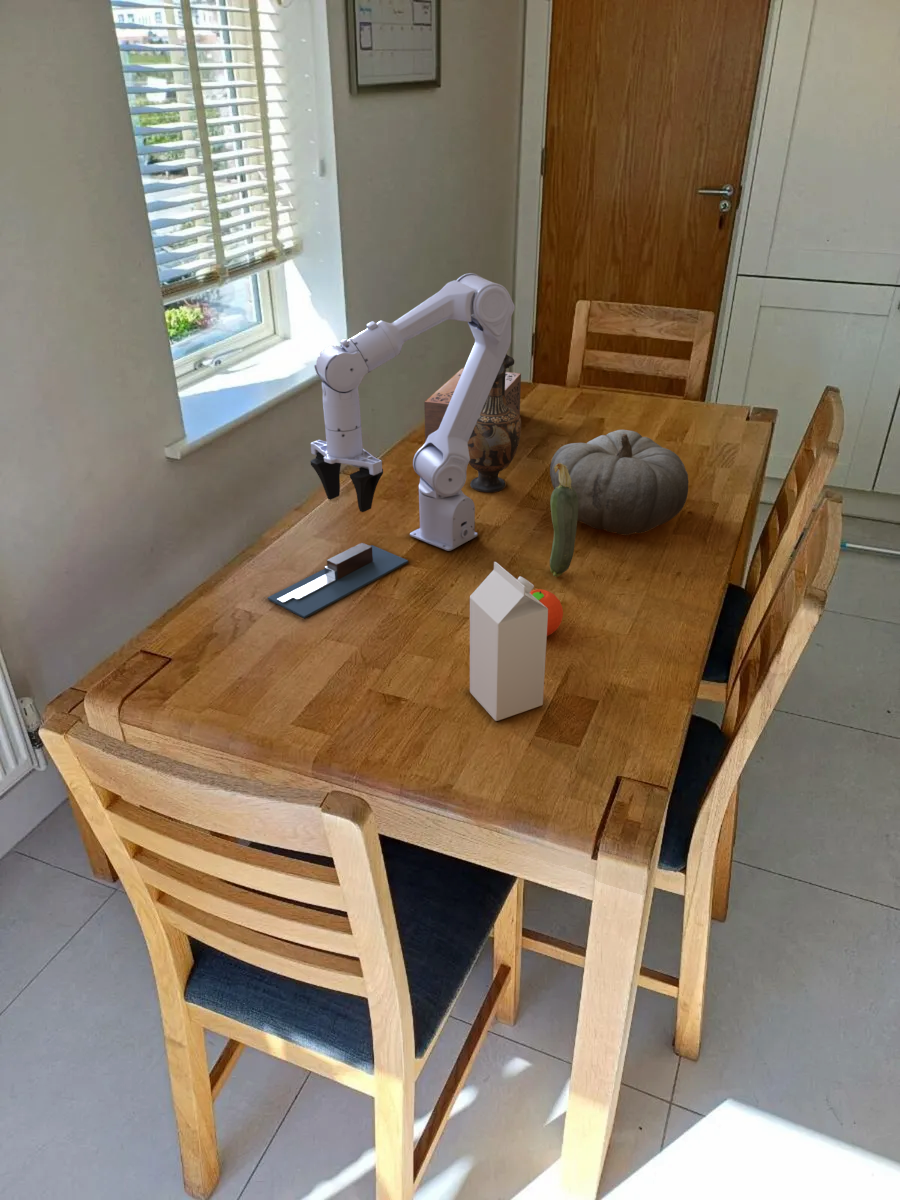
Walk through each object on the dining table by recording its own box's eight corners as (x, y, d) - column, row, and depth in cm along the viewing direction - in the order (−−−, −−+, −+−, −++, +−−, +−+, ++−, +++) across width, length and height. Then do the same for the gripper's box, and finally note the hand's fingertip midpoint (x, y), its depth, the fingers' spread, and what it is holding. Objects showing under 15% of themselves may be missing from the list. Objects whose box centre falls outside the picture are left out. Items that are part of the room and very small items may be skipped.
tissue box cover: (488, 453, 189) (488, 408, 184) (425, 445, 193) (424, 401, 188) (519, 414, 210) (521, 373, 204) (462, 408, 214) (462, 367, 209)
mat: (408, 562, 148) (408, 560, 147) (304, 618, 133) (304, 616, 133) (371, 546, 153) (371, 544, 152) (267, 599, 138) (267, 597, 138)
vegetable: (575, 573, 144) (584, 459, 133) (570, 586, 140) (578, 470, 130) (549, 569, 145) (556, 456, 135) (543, 582, 142) (549, 466, 131)
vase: (451, 492, 172) (450, 337, 156) (474, 468, 182) (475, 321, 166) (508, 501, 168) (512, 343, 152) (528, 477, 178) (534, 326, 162)
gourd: (519, 518, 155) (539, 423, 148) (568, 489, 176) (588, 404, 169) (654, 563, 146) (682, 463, 139) (689, 526, 167) (715, 438, 160)
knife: (362, 556, 149) (361, 542, 147) (373, 561, 147) (372, 546, 146) (277, 600, 137) (274, 585, 135) (287, 606, 135) (285, 590, 134)
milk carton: (496, 722, 111) (498, 594, 101) (469, 692, 117) (469, 568, 107) (543, 706, 114) (550, 580, 104) (515, 677, 120) (519, 554, 110)
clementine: (545, 655, 124) (547, 612, 120) (502, 641, 127) (503, 599, 123) (569, 628, 130) (572, 587, 126) (528, 615, 133) (529, 575, 129)
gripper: (293, 422, 140) (302, 499, 147) (357, 443, 132) (363, 524, 139) (326, 410, 145) (332, 486, 152) (389, 430, 137) (393, 509, 144)
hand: (349, 503), depth 146 cm, fingers open, 7 cm apart
